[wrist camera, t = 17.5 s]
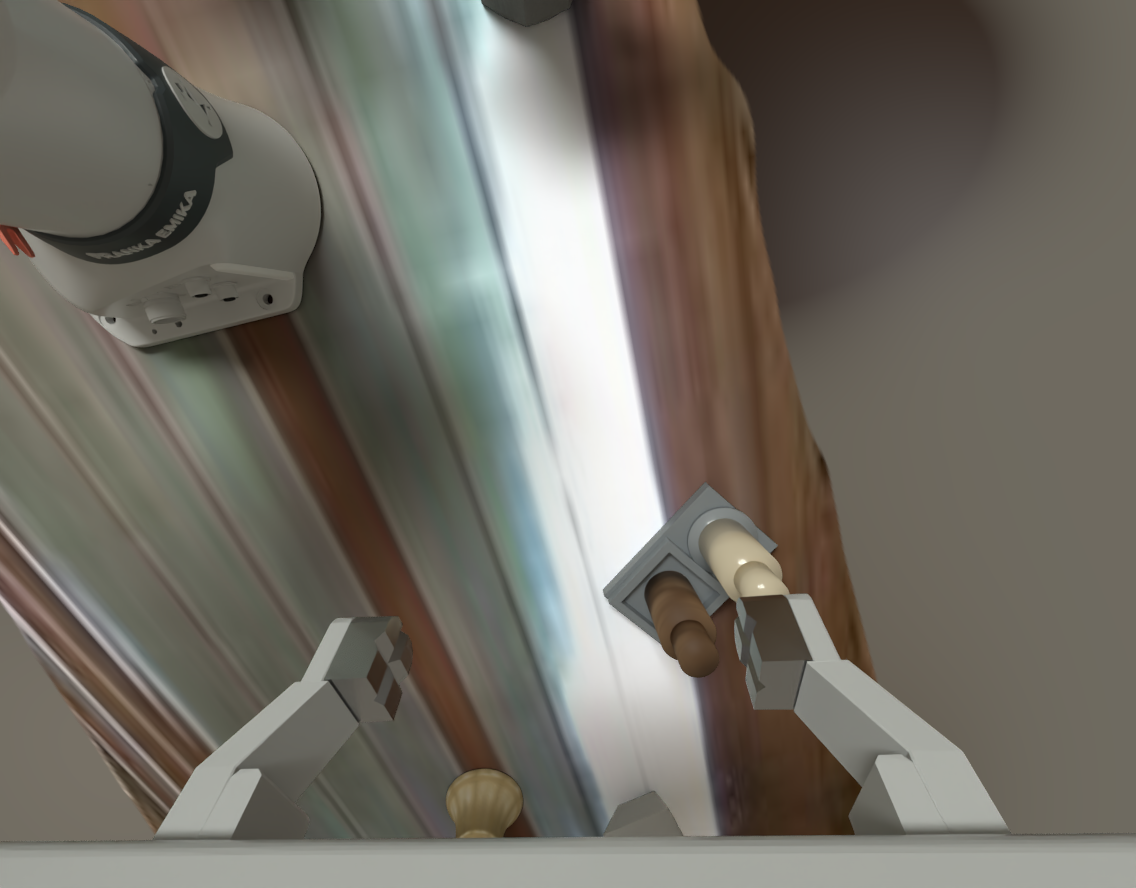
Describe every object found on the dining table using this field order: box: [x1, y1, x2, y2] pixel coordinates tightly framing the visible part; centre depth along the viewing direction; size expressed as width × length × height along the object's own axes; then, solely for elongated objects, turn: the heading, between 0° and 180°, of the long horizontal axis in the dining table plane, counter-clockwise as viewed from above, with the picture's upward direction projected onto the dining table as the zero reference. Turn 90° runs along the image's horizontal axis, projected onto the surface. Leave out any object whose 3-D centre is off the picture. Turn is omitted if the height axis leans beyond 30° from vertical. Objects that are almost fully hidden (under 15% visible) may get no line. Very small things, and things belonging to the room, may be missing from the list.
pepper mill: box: [644, 571, 719, 678], centre depth 41 cm, size 5×5×10 cm
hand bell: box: [446, 769, 523, 838], centre depth 45 cm, size 8×8×16 cm
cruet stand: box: [603, 482, 790, 644], centre depth 41 cm, size 15×9×12 cm, turn 139°
